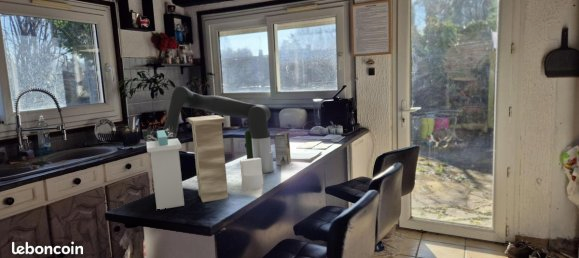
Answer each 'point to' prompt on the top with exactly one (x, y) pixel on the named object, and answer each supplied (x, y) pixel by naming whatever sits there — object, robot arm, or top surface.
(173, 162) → the white pedestal
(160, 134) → the teal bar
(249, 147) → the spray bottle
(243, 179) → the cylinder with rectangular tab
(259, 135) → the robot arm
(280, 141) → the coffee box
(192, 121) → the birch stand
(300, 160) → the top surface
